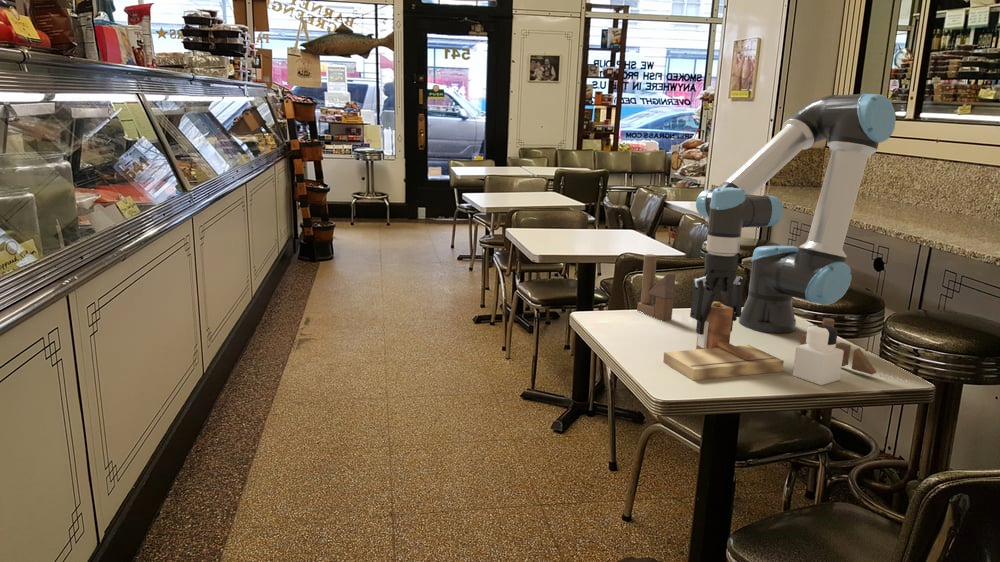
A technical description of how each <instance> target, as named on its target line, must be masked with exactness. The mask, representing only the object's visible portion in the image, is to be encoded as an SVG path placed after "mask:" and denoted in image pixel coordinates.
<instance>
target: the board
mask: <svg viewBox="0 0 1000 562" xmlns="http://www.w3.org/2000/svg"><path fill="white" fill-rule="evenodd" d="M735 346H736V347H738V348H740V349H742V350H744V351H747V352H749V353H751V354H753V355H755V358H754V360H745V359H743V358H741V357H739V356H737V355H735V354H733V353H731V352H729V351H727V350H725V349H723V348H721V347H720V348H708V349H697V350H696V349H688V350H678V351H677V350H674V351H666V352H663V361H662V362H663V363H664V364H665V365H667V366H668V367H670V368H671V369H674V370H675V371H676V372H679V373H680V374H681V375H683V376H685V377H687V378H689V379H690V380H692V381H699V380H700V381H702V380H710V379H720V378H731V377H739V376H749V375H758V374H768V373H778V372H783V369H784V364H785V363H784V360H783V359H780V358H778V357H777V356H774V355H772V354H770V353H767V352H766V351H763V350H762V349H758V348H757V347H755V346H752V345H750V344H745V345H735Z"/></svg>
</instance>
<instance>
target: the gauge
mask: <svg viewBox="0 0 1000 562" xmlns="http://www.w3.org/2000/svg"><path fill="white" fill-rule="evenodd" d="M732 315H733V308H731V307H729V306H726V305H724V304H723V303H722V302H720V301H713V302H712V305H711V308H710V311H709V314H708V316H707V319H706V321H707V322H709V326H708V335H707V345H706V348H702V347H700V346H698V345H697V344H696V347H695V350H697V349H708V348H720V347H721V348H723V349H725V350H727V351H729V352H731V353H733V354H735V355H737V356H739V357H741V358H743V359H745V360H754V358H755V355H753V354H751V353H749V352H747V351H744V350H742V349H740V348H738V347H736V346H737V345H734V344H732V343H730V341H731V340H730V339H731V333H732V331H731V324H732ZM696 337H697V338H696V341H697V340H698V334H697V335H696Z"/></svg>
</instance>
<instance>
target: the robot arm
mask: <svg viewBox="0 0 1000 562" xmlns="http://www.w3.org/2000/svg"><path fill="white" fill-rule="evenodd" d="M896 118H897V117H896V112H895V108H894V105H893V103H892V101H890V99H889V98H887V96H885V95H883V94H879V93H878V94H877V93H876V94H875V93H856V94H853V93H852V94H831V95H829V94H828V95H826V96H822V97H819V98H817V99H815V100H813V101H810V102H809V103H808V104H806V105H805V106H803V107H801V108H800V109H799V110H797V111H795V113H793V114H792V115H791V116H789V117H788V118H787V120H785V121H784V122H783V124H782V126H781V130H779V132H778V133H777V134H775V135H774V136H773V137H772V138H771V139H770V140H768V141H767V142H766V143H765V145H763V146H762V147H761V148H760V149H758V151H757V152H756V153H755V154H753V155H752V156H751V157H750V158H749V159H748V160H747V161H746V162H744V163H743V164H742V165H741V166H740V167H739V168H738V169H737V170H736V171H734V172H733V173H732V174H731V175H730V176H729V177H728V178H727V179H725V181H723V182H722V183H721V184H720V185H719V186H717V187H716V188H710V189H705V190H702V191H701V192H700V193H699V194H698V196H697V198H696V201H695V208H696V212H697V213H698V215H700V217H703V218H706V219H708V230H707V236H706V237H707V238H706V248H705V249H706V251H707V252H706V253H705V257H704V268H705V271H704V274H703V275H702V277H699V278H697V277H693V279H692V284H693V285H692V286H693V291H692V298H691V299H692V300H691V306H690V311H689V312H690V314H689V315H690V318H692V319H693V320H696V328H695V332H696V334H697V335H698V340H697V339H696V346H697V345H698V346H700V347H702V348H706V345H707V335H708V326H709V322H707V321H706V319H707V316H708V314H709V311H710V308H711V305H712V303H713V302H714V299H715V297H717V295H718V293H720V295H721V304H724V305H726V306H729V307H731V308H733V315H732V324H731V332H732V331H733V324H734V322H735V321H737V318H738V324H739V325H741V326H742V327H744V328H747V329H749V330H752V331H758V332H764V333H771V334H785V333H786V334H787V333H791V332H792V333H793V332H794V331H795V330H796V326H797V320H796V317H795V316H796V315H795V311H794V306H793V298H796V299H800V300H803V301H806V302H809V303H811V304H819V305H825V306H827V305H831V304H834V303H836V302H837V301H839V300H840V299H842V297H844V295H845V294H846V293H847V291H848V290H849V288H850V285H851V282H852V278H853V277H852V270H851V268H850V266H849V265H848V264H847V263H846V261H847V254H846V253H845V251H844V250H843V248H844V244H845V241H846V240H845V239H846V236H847V233H848V229H849V226H850V222H851V219H852V216H853V212H854V207H855V205H856V201H857V199H858V194H859V190H860V187H861V183H862V180H863V176H864V173H865V170H866V169H865V168H866V165H867V161H868V158H869V157H870V156H872V155H873V154H875V153H876V152H877V151H878V148H879V144H881V143H883V142H886V141H887V140H889V139H890V137H892V134H893V133H894V131H895V129H896V128H895V126H896ZM821 141H827V146H828V147H829V149H830V151H831V153H830V156H829V160H828V162H827V163H828V164H827V167H826V171H825V174H824V178H823V183H822V186H821V190H820V191H819V192H820V193H819V195H818V196H819V197H818V200H817V203H816V207H815V211H814V214H813V218H812V222H811V227H810V230H809V233H808V237H807V240H806V241H805V242H804V243H803V244H800V245H799V246H794V245H762V246H758V247H755V249H754V250H753V253H752V259H751V260H750V261H751V265H750V275H749V284H748V285H749V286H748V296H747V299H746V301H745V302H744V305H743V295H744V294H743V293H744V286H745V283H746V278H745V277H743V276H739V275H737V274H736V271H737V270H738V265H739V255H738V254H739V253H740V248H741V247H740V245H741V236H742V229H743V228H767V227H773V226H776V225H777V224H778V223H779V222H780V221H781V219H783V218H782V217H783V214H784V205H783V203H782V201H781V200H780V199H779V198H778V197H777V196H774V195H766V194H763V195H755V193H756V192H757V191H758V190H760V189H761V188H762V187H763V186H764V185H765V184H766V183H768V181H769V180H771V179H772V178H773V177H774V176H775V175H777V173H778V172H779V171H780V170H781V169H783V168H784V167H785V166H786V165H787V164H788V163H789V162H790V161H791V160H793V159H794V158H795V157H796V156H797V155H798V154H799V153H800V152H801V151H802V150H808V149H810V148H812V147H813V146H814V144H816V143H818V142H821ZM742 306H743V307H742Z"/></svg>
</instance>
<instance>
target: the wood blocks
mask: <svg viewBox="0 0 1000 562" xmlns="http://www.w3.org/2000/svg"><path fill="white" fill-rule="evenodd" d="M821 325H827V326H830V327H833V328H834V329H835V319H834V318H830V317H824V318H822V324H821ZM806 337H807V332H806V333H803V334H801V339H800V344H799V345H803V344H807V343H806ZM835 348H838V349H842V350H843V351H844V353H843V360H842V366H841V367H845V366H848V365H849V360H850V353H851V348H852V347H851V344H848V343H845V342H839V343H836V347H835ZM851 369H852V370H854V371H857V372H861V373H865V374H868V375H870V376H873V375H874V374H877V370H876V369H875V367H874V365H872V364H871V362H870V361H869V359H868V357H867V356H866V355H865V354H864V352H863V350H861V347H858V348H856V349H854V350H853V356H852V363H851ZM879 377H881V378H884V379H886V380H887V379H890V380H895V378H894V377H893V375H889V374H886V373H882V372H880V373H879ZM896 379H897V382H900V383H904V384H907V385H910V380H907V379H905V380H903V379H901V378H899V377H897V378H896Z"/></svg>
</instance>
